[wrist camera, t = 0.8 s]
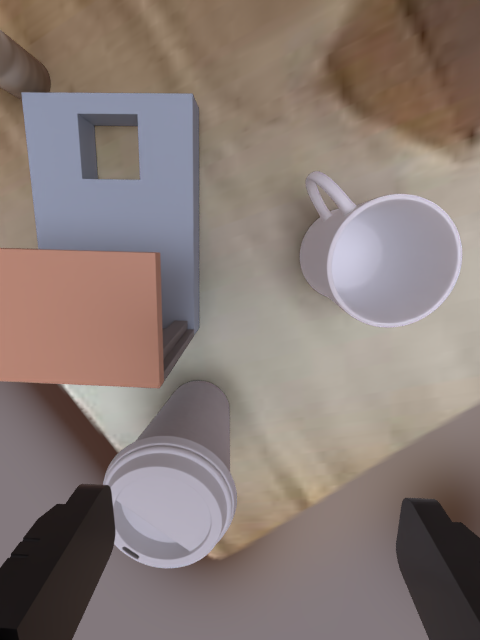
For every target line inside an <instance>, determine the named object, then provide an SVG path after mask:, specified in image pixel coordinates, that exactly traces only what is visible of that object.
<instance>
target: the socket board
mask: <svg viewBox="0 0 480 640" xmlns="http://www.w3.org/2000/svg"><path fill="white" fill-rule="evenodd" d="M21 94H22V103H23V112H24V121H25V130H26V139H27V148H28V157H29V166H30V176H31V185H32V194H33V203H34V212H35V221H36V230H37V239H38V248H39V249H19V248H0V381H10V382H33V383H54V384H76V385H99V386H121V387H144V388H160V387H161V385H162V384H163V382H164V381H165V379H166V378H167V376H168V375H169V373H170V372H171V370H172V369H173V367H174V366H175V364H176V362H177V361H178V359H179V358H180V356H181V355H182V353H183V352H184V350H185V349H186V347H187V346H188V344H189V343H190V341H191V340H192V338H193V337H194V335H195V334H196V332H197V330H198V329H199V107H198V105H197V103H196V101H195V98H194V96H193V94H165V93H31V92H21ZM94 125H97V126H138V139H139V164H140V180H113V179H98V174H97V159H96V144H95V129H94Z"/></svg>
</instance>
